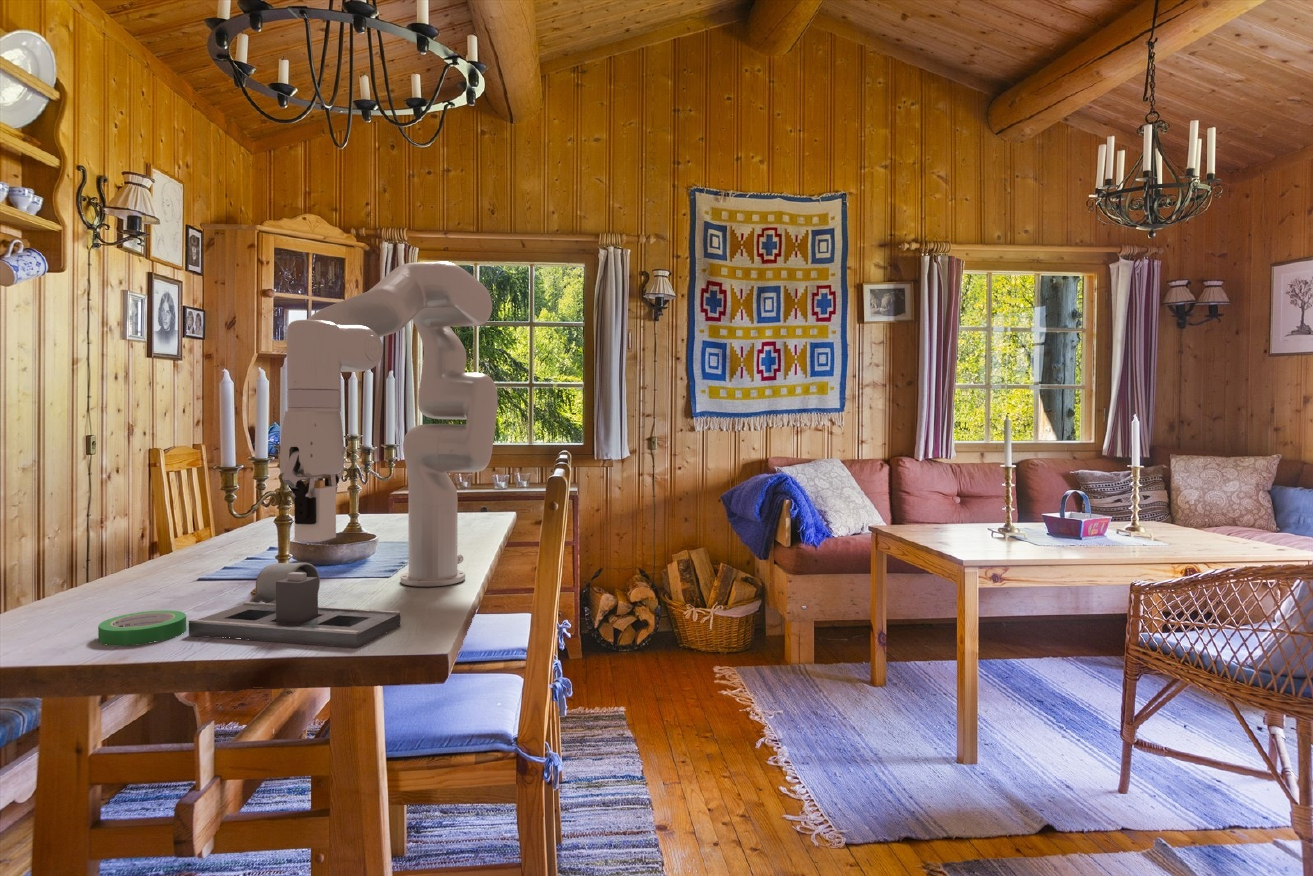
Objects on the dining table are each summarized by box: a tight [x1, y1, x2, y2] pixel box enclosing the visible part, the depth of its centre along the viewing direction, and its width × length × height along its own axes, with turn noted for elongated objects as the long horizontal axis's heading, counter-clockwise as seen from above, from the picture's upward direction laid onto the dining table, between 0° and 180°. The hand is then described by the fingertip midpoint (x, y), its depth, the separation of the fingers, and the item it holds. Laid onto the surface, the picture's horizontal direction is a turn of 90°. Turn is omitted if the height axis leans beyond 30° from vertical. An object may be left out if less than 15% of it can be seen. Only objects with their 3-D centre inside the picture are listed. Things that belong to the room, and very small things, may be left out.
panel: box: [188, 601, 401, 649], centre depth 120 cm, size 12×28×2 cm, turn 79°
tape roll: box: [97, 609, 187, 647], centre depth 117 cm, size 11×11×3 cm
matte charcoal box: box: [276, 572, 319, 624], centre depth 120 cm, size 4×4×9 cm
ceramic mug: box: [248, 562, 321, 604], centre depth 134 cm, size 11×8×8 cm
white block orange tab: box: [294, 479, 337, 543], centre depth 119 cm, size 4×4×9 cm
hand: (315, 520), depth 119 cm, fingers closed on white block orange tab, 4 cm apart
